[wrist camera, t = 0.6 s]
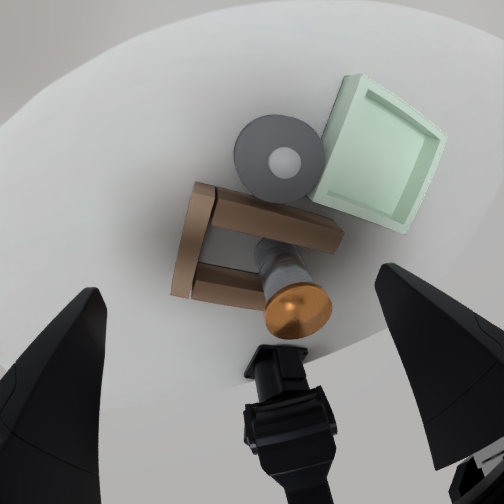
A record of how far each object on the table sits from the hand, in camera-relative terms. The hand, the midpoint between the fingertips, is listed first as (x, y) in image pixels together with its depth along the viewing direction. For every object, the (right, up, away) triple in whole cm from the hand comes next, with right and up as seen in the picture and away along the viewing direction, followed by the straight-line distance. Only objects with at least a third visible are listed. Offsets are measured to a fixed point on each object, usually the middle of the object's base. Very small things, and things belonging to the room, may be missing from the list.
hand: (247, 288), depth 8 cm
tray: (+10, +9, +12) cm, 18 cm away
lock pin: (+2, +1, +16) cm, 16 cm away
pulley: (+2, +8, +11) cm, 14 cm away
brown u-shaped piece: (0, +1, +15) cm, 15 cm away
